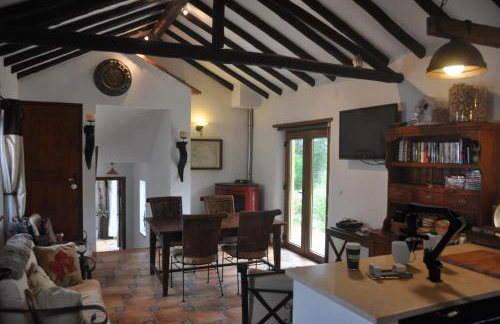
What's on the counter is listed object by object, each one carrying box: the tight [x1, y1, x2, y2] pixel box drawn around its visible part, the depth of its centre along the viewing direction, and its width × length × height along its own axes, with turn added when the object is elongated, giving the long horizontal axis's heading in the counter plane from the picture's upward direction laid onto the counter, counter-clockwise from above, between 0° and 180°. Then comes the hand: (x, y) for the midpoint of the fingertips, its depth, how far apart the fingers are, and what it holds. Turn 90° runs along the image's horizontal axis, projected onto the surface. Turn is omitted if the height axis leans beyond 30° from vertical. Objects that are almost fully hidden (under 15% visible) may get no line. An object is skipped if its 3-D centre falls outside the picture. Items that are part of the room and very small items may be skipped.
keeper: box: [391, 263, 407, 273], centre depth 224 cm, size 6×5×4 cm
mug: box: [391, 240, 417, 266], centre depth 245 cm, size 15×11×13 cm
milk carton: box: [422, 230, 442, 264], centre depth 248 cm, size 9×9×20 cm
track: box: [365, 262, 414, 278], centre depth 224 cm, size 9×24×6 cm, turn 98°
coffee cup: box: [344, 241, 362, 270], centre depth 237 cm, size 10×10×15 cm
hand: (411, 252), depth 225 cm, fingers closed
